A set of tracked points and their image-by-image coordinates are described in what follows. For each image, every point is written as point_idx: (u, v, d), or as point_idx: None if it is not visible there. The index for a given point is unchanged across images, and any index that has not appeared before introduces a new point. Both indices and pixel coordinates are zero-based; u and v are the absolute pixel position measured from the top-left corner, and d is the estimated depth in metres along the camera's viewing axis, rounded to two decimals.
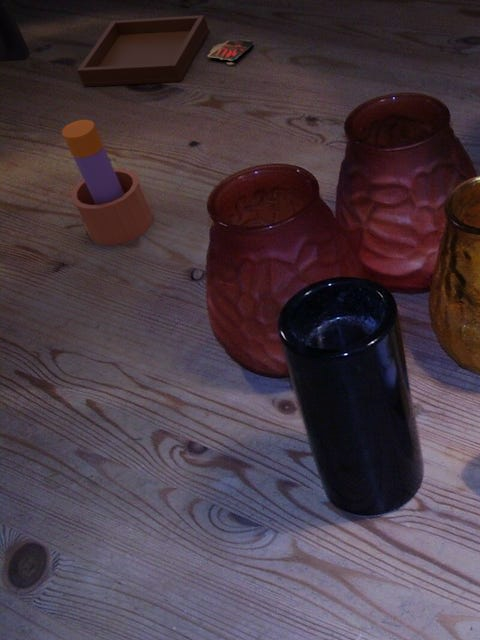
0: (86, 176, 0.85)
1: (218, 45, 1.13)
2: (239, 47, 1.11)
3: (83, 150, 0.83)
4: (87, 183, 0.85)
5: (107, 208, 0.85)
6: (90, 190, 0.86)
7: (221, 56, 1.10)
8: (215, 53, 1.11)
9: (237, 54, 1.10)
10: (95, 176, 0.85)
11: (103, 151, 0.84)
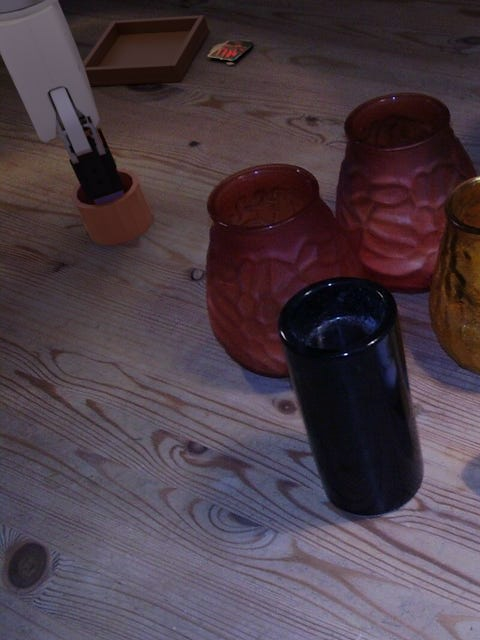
0: None
1: (218, 45, 1.13)
2: (239, 47, 1.11)
3: None
4: None
5: (107, 208, 0.85)
6: None
7: (221, 56, 1.10)
8: (215, 53, 1.11)
9: (237, 54, 1.10)
10: None
11: None
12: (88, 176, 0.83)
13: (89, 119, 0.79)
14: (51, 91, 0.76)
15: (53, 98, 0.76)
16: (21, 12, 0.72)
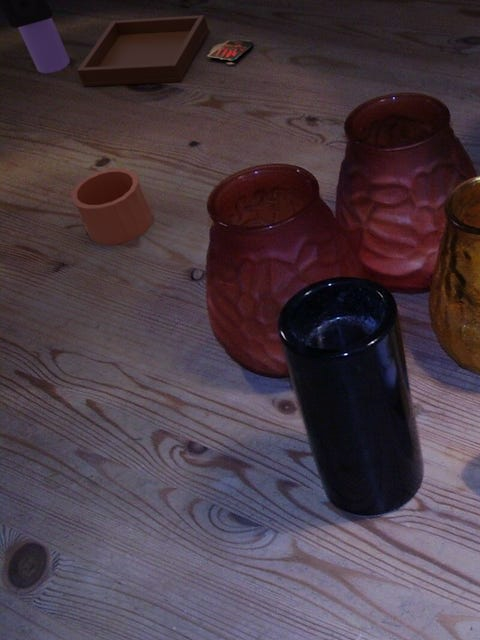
0: None
1: (218, 45, 1.13)
2: (239, 47, 1.11)
3: None
4: None
5: (107, 208, 0.85)
6: None
7: (221, 56, 1.10)
8: (215, 53, 1.11)
9: (237, 54, 1.10)
10: None
11: None
12: None
13: None
14: None
15: None
16: None
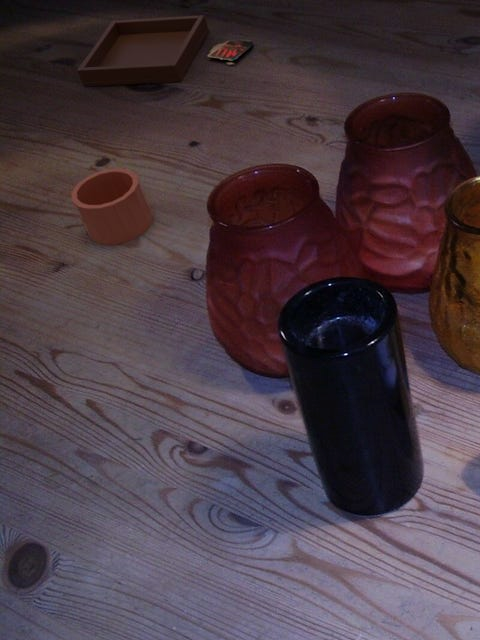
0: None
1: (218, 45, 1.13)
2: (239, 47, 1.11)
3: None
4: None
5: (107, 208, 0.85)
6: None
7: (221, 56, 1.10)
8: (215, 53, 1.11)
9: (237, 54, 1.10)
10: None
11: None
12: None
13: None
14: None
15: None
16: None
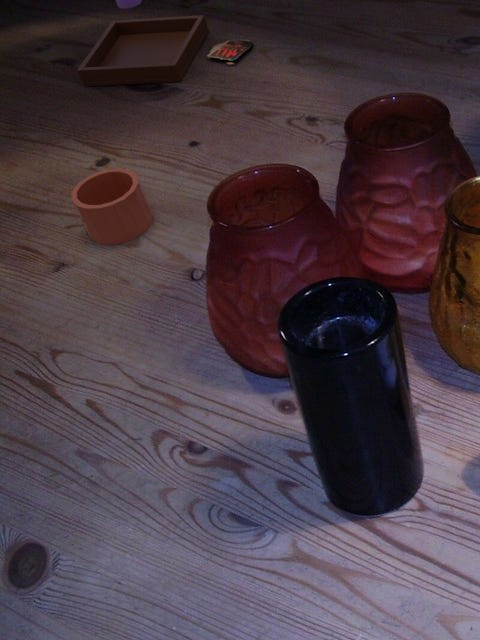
0: None
1: (218, 45, 1.13)
2: (239, 47, 1.11)
3: None
4: None
5: (107, 208, 0.85)
6: None
7: (221, 56, 1.10)
8: (215, 53, 1.11)
9: (237, 54, 1.10)
10: None
11: None
12: None
13: None
14: None
15: None
16: None
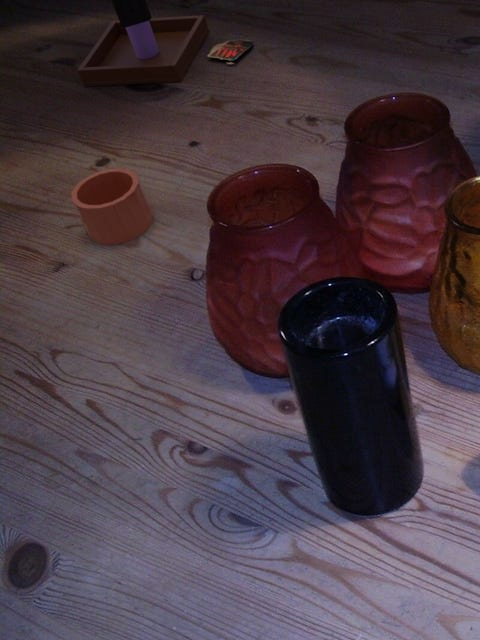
0: None
1: (218, 45, 1.13)
2: (239, 47, 1.11)
3: None
4: None
5: (107, 208, 0.85)
6: None
7: (221, 56, 1.10)
8: (215, 53, 1.11)
9: (237, 54, 1.10)
10: None
11: None
12: (123, 4, 1.02)
13: None
14: None
15: None
16: None
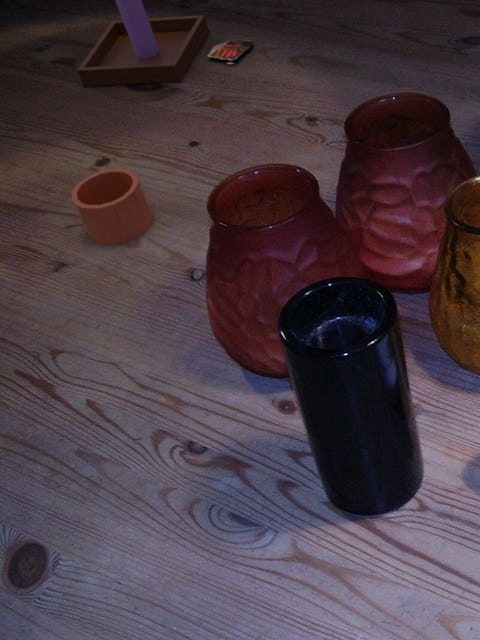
0: (122, 7, 1.07)
1: (218, 45, 1.13)
2: (239, 47, 1.11)
3: None
4: (122, 14, 1.08)
5: (107, 208, 0.85)
6: (124, 20, 1.09)
7: (221, 56, 1.10)
8: (215, 53, 1.11)
9: (237, 54, 1.10)
10: (129, 7, 1.07)
11: None
12: None
13: None
14: None
15: None
16: None
